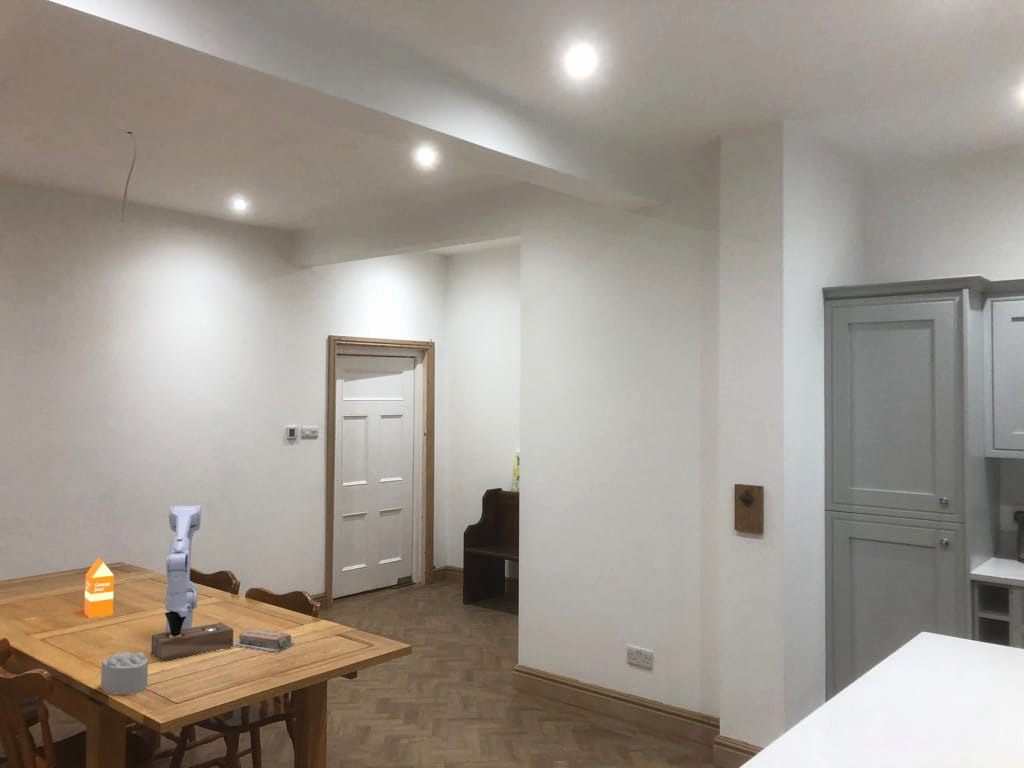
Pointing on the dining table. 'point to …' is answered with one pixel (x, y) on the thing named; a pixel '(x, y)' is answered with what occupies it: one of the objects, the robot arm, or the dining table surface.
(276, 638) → the packaged product
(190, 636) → the walnut block
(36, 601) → the dining table surface
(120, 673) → the lumpy-topped squat cylinder
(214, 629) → the grey metal peg
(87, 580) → the orange juice
